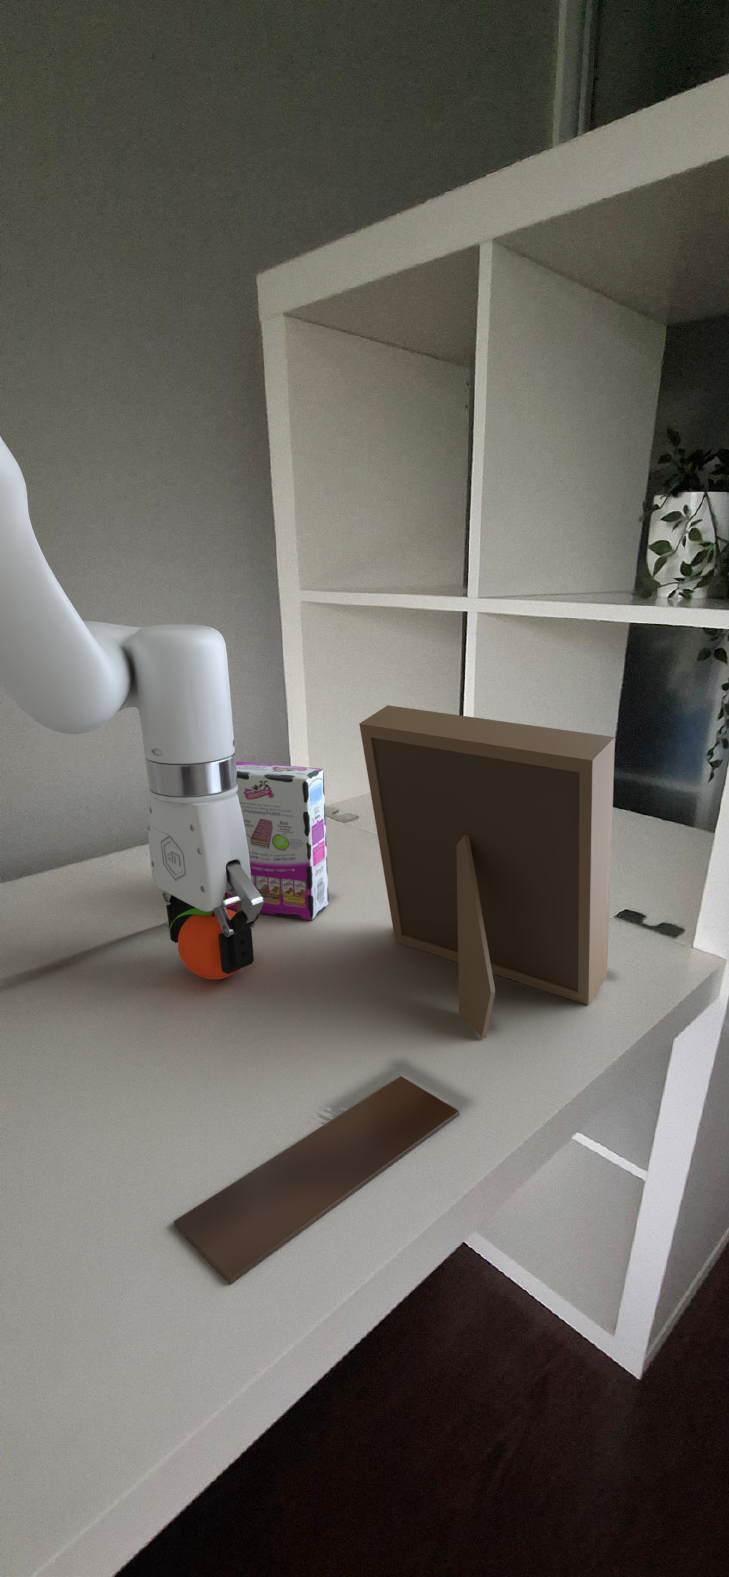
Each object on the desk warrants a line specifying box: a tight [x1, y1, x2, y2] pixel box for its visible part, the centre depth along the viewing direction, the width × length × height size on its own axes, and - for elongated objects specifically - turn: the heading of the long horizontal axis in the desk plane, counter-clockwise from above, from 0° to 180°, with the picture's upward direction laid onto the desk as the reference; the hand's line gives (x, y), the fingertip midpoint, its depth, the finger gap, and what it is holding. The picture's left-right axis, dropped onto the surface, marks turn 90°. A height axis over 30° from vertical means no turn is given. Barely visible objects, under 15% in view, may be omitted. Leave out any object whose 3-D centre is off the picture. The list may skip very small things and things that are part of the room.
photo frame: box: [359, 704, 616, 1039], centre depth 69 cm, size 15×22×25 cm
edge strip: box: [173, 1075, 460, 1285], centre depth 52 cm, size 6×20×1 cm, turn 137°
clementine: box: [168, 907, 241, 980], centre depth 74 cm, size 8×7×7 cm
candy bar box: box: [224, 760, 330, 921], centre depth 87 cm, size 11×5×16 cm, turn 73°
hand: (211, 951), depth 75 cm, fingers open, 8 cm apart
